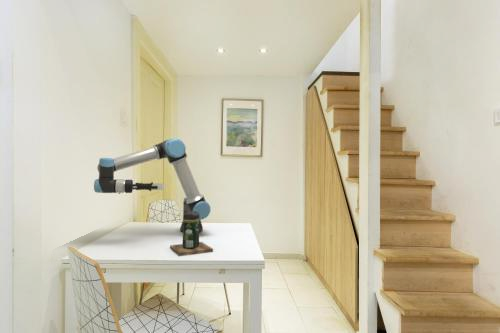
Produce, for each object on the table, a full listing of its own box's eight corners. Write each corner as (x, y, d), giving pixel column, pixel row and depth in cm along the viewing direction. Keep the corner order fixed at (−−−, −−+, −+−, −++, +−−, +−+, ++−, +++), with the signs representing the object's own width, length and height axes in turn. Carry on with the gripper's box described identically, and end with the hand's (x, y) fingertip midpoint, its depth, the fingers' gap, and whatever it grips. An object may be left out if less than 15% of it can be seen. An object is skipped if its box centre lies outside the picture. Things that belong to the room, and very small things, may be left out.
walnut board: (201, 244, 171) (201, 241, 171) (212, 251, 157) (213, 248, 157) (170, 248, 162) (170, 245, 162) (179, 256, 148) (179, 253, 148)
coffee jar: (186, 243, 166) (187, 210, 166) (200, 244, 164) (201, 210, 164) (180, 248, 156) (180, 212, 156) (194, 249, 155) (195, 213, 155)
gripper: (127, 191, 182) (164, 191, 188) (121, 194, 158) (163, 194, 164) (127, 178, 182) (164, 179, 188) (121, 180, 158) (163, 181, 164)
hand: (164, 186), depth 176 cm, fingers open, 13 cm apart
